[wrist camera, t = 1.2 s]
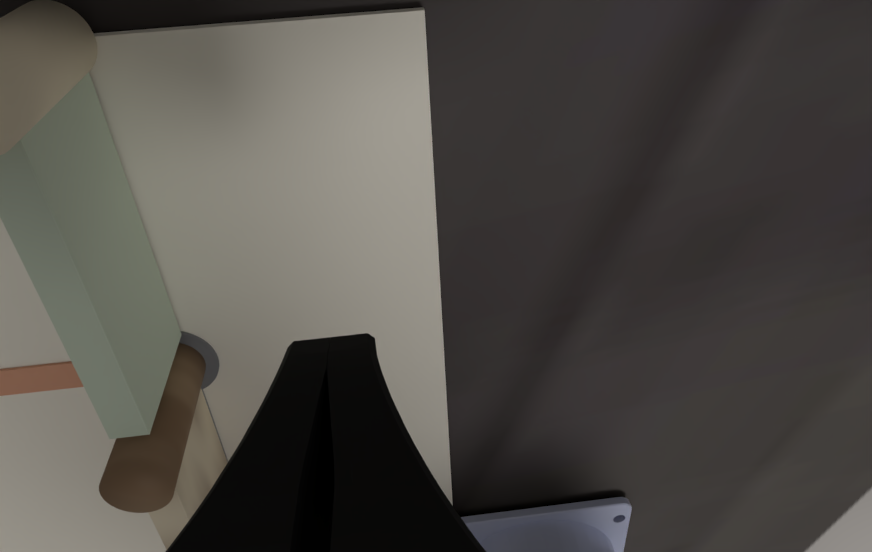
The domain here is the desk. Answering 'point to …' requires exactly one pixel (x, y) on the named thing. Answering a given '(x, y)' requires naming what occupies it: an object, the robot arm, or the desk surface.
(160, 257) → the card
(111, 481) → the fence fixed section
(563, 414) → the desk surface
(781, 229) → the desk surface
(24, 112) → the fence swing panel
